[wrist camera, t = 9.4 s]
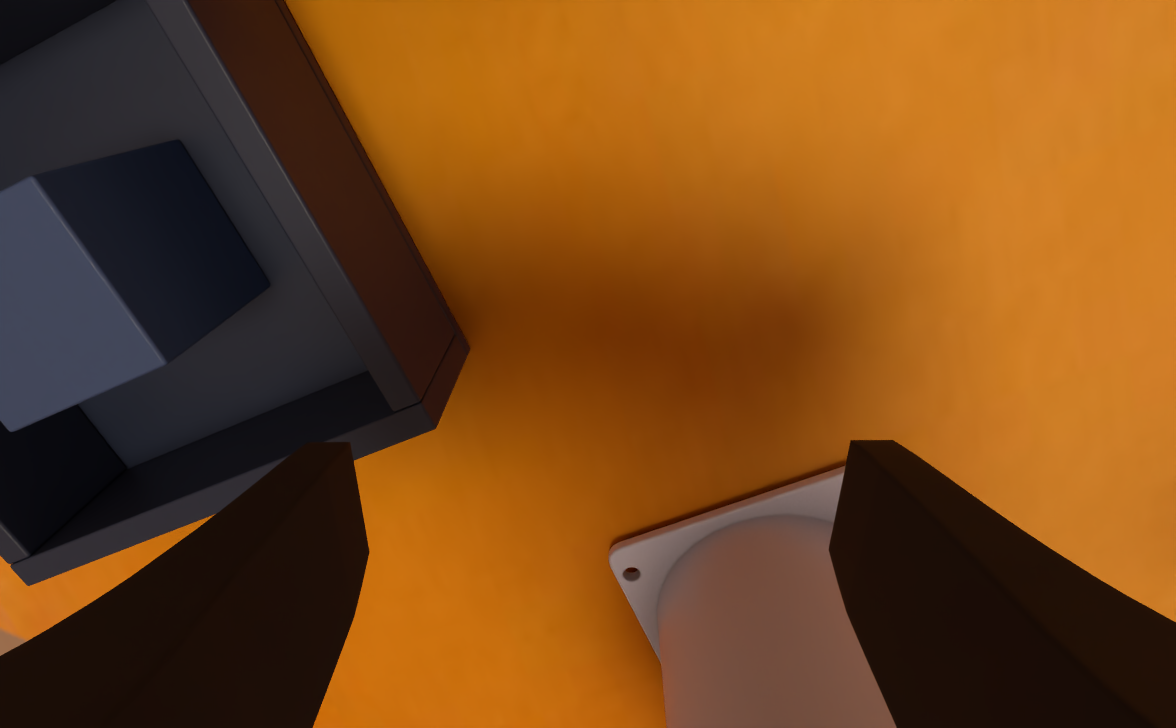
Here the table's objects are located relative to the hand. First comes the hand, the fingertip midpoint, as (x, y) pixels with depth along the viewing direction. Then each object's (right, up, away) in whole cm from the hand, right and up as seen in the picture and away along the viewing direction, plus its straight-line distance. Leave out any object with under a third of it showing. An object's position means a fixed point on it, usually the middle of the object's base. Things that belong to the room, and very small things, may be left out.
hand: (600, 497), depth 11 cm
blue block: (-11, +5, +8) cm, 14 cm away
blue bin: (-11, +5, +8) cm, 15 cm away
